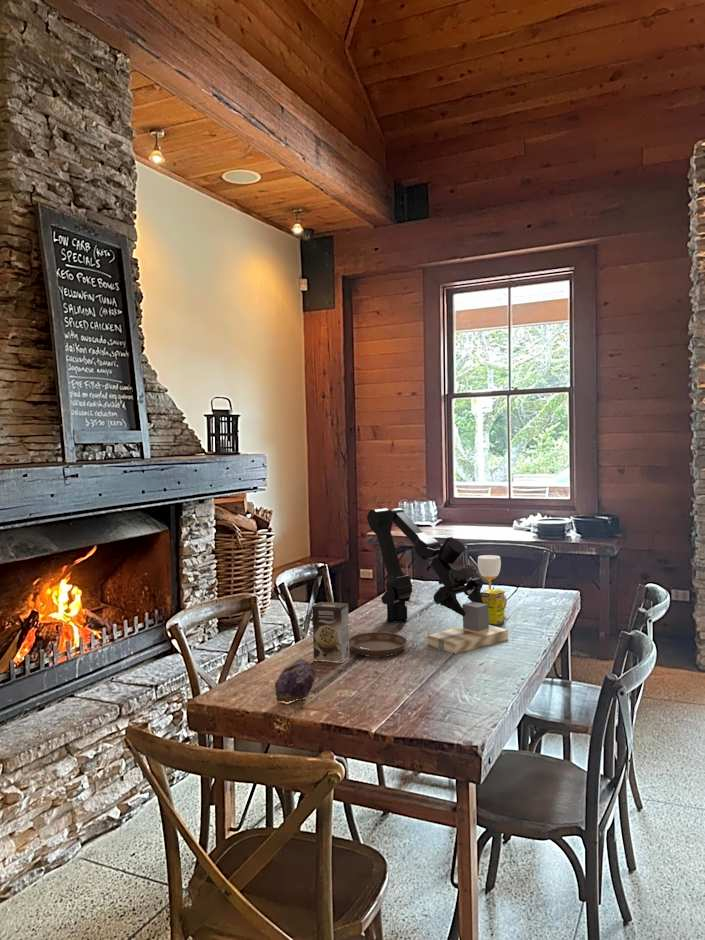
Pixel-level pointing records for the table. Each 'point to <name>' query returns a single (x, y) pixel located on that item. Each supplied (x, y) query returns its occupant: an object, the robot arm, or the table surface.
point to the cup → (489, 567)
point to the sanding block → (475, 617)
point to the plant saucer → (377, 643)
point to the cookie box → (330, 631)
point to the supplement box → (494, 606)
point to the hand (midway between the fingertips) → (474, 612)
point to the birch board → (466, 639)
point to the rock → (295, 681)
